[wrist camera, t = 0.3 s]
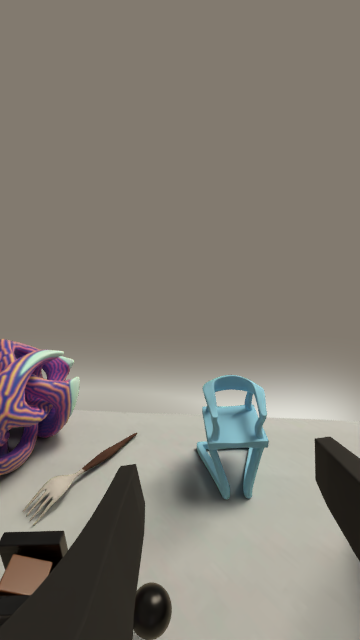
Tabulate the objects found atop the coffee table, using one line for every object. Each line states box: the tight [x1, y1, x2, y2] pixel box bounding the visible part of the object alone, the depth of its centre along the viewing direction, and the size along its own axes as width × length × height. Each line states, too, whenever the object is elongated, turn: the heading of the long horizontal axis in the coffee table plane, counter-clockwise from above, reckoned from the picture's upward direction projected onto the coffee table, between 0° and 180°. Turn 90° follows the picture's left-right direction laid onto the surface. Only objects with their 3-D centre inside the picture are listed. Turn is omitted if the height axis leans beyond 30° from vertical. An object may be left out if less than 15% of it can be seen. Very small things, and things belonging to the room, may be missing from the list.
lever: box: [0, 554, 172, 640], centre depth 22 cm, size 12×3×3 cm, turn 91°
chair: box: [197, 375, 269, 499], centre depth 37 cm, size 8×8×12 cm
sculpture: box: [0, 339, 80, 475], centre depth 41 cm, size 16×17×20 cm
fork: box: [23, 433, 137, 526], centre depth 39 cm, size 3×16×2 cm, turn 142°
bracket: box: [0, 531, 68, 626], centre depth 22 cm, size 8×6×9 cm
